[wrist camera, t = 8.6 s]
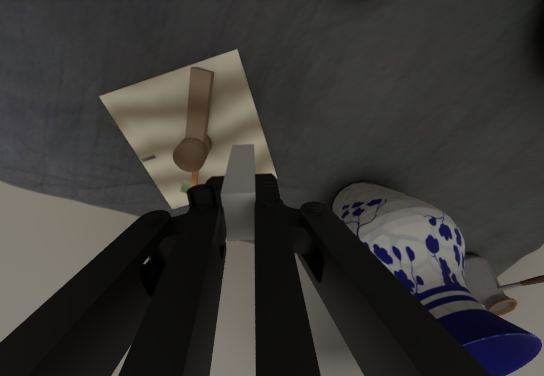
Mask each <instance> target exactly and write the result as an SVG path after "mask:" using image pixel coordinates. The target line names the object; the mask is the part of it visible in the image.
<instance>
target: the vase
mask: <svg viewBox="0 0 544 376" xmlns="http://www.w3.org/2000/svg"><path fill="white" fill-rule="evenodd" d="M332 210H333V212H334V213H335V214H336V215H337V216H338V217H339V218H340V219H341V220H342V221H343V222H344V223H345V224H346V225H347V226H348V227H349V229H350V230H351V231H352V232H353V233H354V234H355V235H356V236H357V237H358V238H359V239H360V240H361V241H362V242H363V243H364V244H365V245H366V246H367V247H368V248H369V249H370V250H371V251H372V252H373V253H374V254H375V256H376V257H377V258H378V259H379V260H380V261H381V262H382V263H383V264H384V265H385V266H386V267H387V268H388V269H389V270H390V271H391V272H392V273H393V274H394V275H395V276H396V277H397V278H398V279H399V280H400V281H401V283H402V284H403V285H404V286H405V287H406V288H407V289H408V290H409V291H410V292H411V293H412V294H413V295H414V296H415V297H416V298H417V299H418V300H419V301H420V302H421V303H422V304H423V305H424V306H425V307H426V308H427V309H428V311H429V312H430V313H431V314H432V315H433V316H434V317H435V318H436V319H437V320H438V321H439V322H440V323H441V324H442V325H443V326H444V327H445V328H446V329H447V330H448V331H449V332H450V333H451V334H452V335H453V336H454V338H455V339H456V340H457V341H458V342H459V343H460V344H461V345H462V346H463V347H464V348H465V349H466V350H467V351H468V352H469V353H470V354H471V355H472V356H473V357H474V358H475V359H476V360H477V361H478V362H479V363H480V365H481V366H482V367H483V368H484V369H485V370H486V371H487V372H488V373H489V374H490V375H491V376H506V375H508V374H510V373H512V372H514V371H516V370H518V369H519V368H521V367H523V366H524V365H526V364H527V363H528V362H530V361H531V360H532V359H533V358H534V357H536V356H537V355H538V353H539V351H540V350H541V347H542V343H541V340H540V339H539V338H538V337H536V336H535V335H533V334H531V333H530V332H528V331H526V330H523V329H522V328H520V327H518V326H516V325H514V324H512V323H510V322H508V321H506V320H504V319H503V318H501V317H499V316H497V315H495V314H493V313H491V312H490V311H489V310H487V309H486V308H484V307H483V306H482V305H481V304H480V303H479V302H478V301H477V300H476V299H475V298H474V297H473V296H472V294H471V293H470V292H469V290H468V288H467V285H466V281H465V276H464V270H465V255H466V254H465V243H464V239H463V236H462V234H461V232H460V230H459V228H458V227H457V225H456V224H455V223H454V221H453V220H452V219H451V218H450V217H449V216H448V215H447V214H445V213H444V212H442V211H441V210H439V209H437V208H436V207H434V206H432V205H430V204H429V203H427V202H424V201H422V200H419V199H417V198H414V197H412V196H409V195H406V194H403V193H400V192H397V191H394V190H392V189H388V188H385V187H382V186H379V185H376V184H373V183H371V182H367V181H359V182H354V183H351V184H349V185H347V186H345V187H344V188H343V189H341V190H340V191H339V192H338V194H337V195H336V196H335V198H334V201H333V205H332Z"/></svg>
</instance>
